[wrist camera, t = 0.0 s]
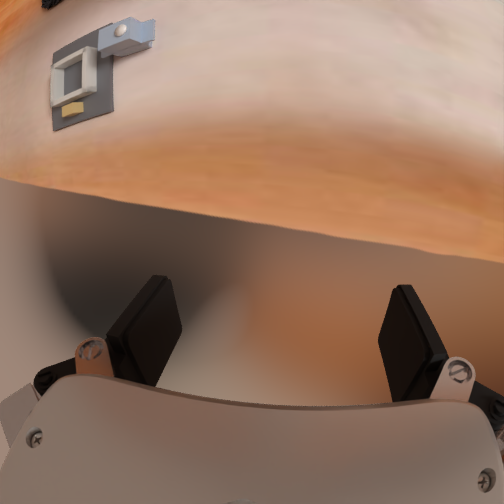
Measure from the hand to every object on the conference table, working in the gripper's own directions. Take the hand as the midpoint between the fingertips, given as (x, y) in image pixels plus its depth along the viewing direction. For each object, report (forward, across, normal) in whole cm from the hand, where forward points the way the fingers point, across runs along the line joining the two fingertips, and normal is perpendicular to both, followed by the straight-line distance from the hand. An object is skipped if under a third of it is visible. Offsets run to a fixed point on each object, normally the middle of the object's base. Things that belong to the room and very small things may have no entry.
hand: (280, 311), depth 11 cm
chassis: (+31, +37, -22) cm, 53 cm away
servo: (+31, +24, -25) cm, 47 cm away
